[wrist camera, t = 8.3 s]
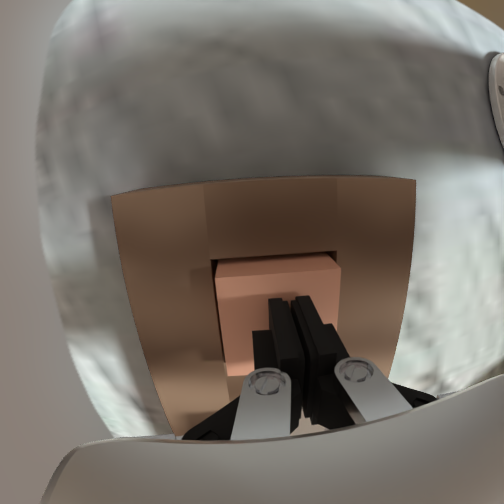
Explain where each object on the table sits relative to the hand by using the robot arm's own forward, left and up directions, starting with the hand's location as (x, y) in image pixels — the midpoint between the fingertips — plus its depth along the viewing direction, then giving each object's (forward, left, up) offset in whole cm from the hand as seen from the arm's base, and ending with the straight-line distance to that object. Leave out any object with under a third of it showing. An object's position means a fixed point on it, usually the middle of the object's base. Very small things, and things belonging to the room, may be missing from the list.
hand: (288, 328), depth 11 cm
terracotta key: (0, 0, -4) cm, 4 cm away
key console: (+7, +6, -6) cm, 11 cm away
